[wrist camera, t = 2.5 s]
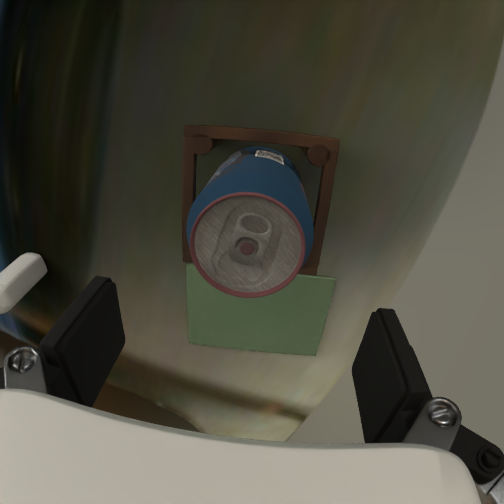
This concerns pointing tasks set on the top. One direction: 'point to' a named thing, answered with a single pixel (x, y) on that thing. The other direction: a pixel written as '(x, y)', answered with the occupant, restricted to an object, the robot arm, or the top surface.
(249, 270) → the soda can
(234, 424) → the top surface
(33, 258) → the eye dropper bottle
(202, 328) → the mat
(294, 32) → the top surface
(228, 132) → the can rack
